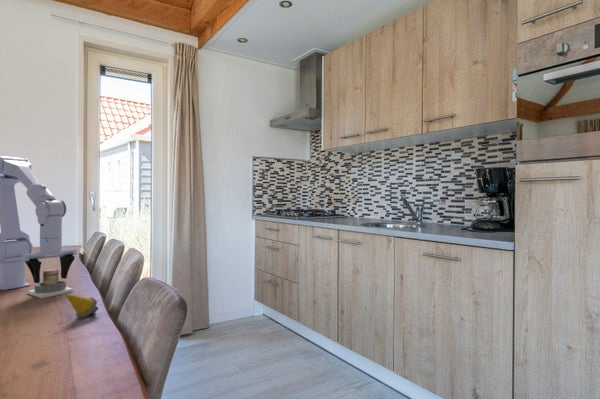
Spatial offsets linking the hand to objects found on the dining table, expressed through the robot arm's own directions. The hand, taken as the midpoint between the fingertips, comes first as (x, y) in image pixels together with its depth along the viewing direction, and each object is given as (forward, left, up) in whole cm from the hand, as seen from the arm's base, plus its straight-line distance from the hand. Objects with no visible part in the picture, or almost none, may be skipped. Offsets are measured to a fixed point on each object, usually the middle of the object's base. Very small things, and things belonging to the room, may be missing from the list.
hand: (50, 280), depth 114 cm
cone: (+33, -6, -4) cm, 34 cm away
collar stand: (0, 0, -4) cm, 4 cm away
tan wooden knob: (0, 0, -3) cm, 3 cm away
